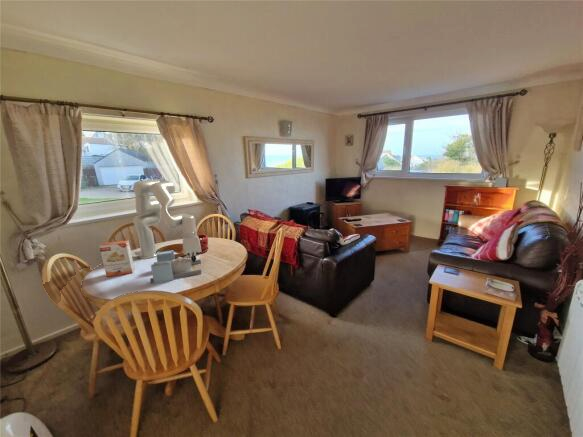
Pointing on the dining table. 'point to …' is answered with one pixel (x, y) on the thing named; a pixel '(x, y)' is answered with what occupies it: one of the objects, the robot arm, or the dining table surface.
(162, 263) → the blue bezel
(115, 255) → the cracker box
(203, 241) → the plant pot
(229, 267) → the dining table surface
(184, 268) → the lumpy-topped squat cylinder
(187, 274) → the grey long bars
